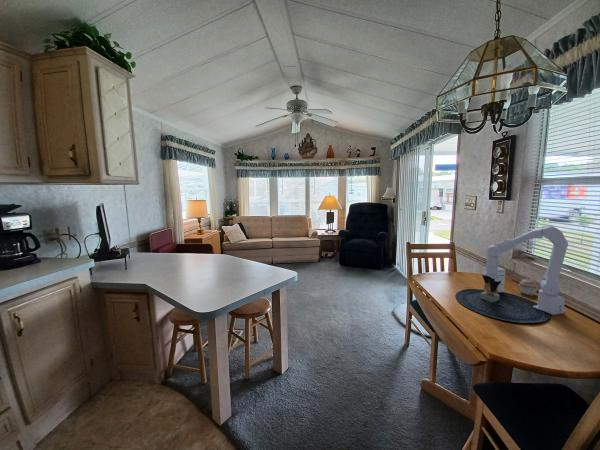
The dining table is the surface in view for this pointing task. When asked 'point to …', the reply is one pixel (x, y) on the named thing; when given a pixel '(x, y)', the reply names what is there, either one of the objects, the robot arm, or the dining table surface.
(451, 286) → the dining table surface
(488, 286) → the terracotta cube
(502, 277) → the syrup box
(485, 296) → the slate slab block
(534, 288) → the cupcake
